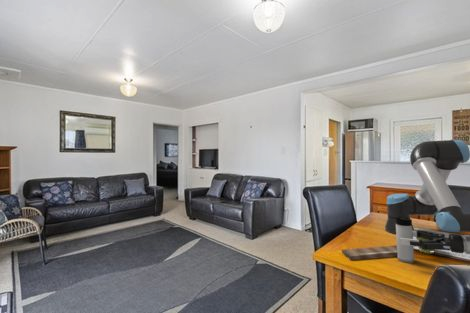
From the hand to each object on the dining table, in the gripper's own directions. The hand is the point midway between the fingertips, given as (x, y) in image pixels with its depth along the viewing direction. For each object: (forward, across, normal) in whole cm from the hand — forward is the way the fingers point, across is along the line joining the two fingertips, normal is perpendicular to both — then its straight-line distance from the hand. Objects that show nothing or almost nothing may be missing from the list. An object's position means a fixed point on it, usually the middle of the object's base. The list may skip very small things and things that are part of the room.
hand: (399, 236), depth 108 cm
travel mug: (-2, 0, -11) cm, 11 cm away
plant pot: (-10, +16, -11) cm, 22 cm away
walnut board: (+10, +1, -11) cm, 15 cm away
